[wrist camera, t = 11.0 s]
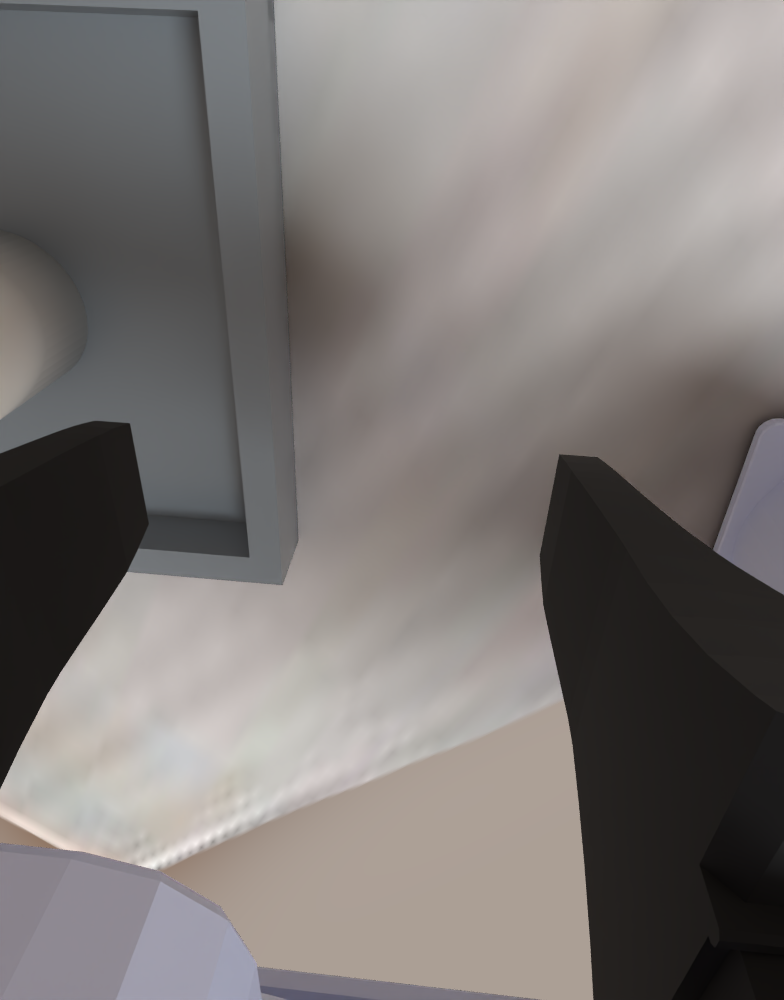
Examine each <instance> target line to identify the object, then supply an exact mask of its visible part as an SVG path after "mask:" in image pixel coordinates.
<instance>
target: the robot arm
mask: <svg viewBox="0 0 784 1000" xmlns="http://www.w3.org/2000/svg"><path fill="white" fill-rule="evenodd" d="M148 525H149V521H148V516H147V511H146V505H145V500H144V495H143V490H142V484H141V479H140V474H139V468H138V463H137V458H136V452H135V447H134V442H133V437H132V431H131V426H130V423H122V422H108V421H91V422H87V423H82V424H79V425H76V426H72V427H69V428H66V429H63V430H61V431H58V432H55V433H52V434H50V435H47V436H44V437H42V438H39V439H36V440H34V441H31V442H28V443H26V444H23V445H21V446H18V447H16V448H13V449H10V450H8V451H5V452H3V453H0V788H1V786H2V784H3V782H4V780H5V778H6V776H7V773H8V771H9V769H10V767H11V765H12V763H13V761H14V759H15V757H16V754H17V752H18V750H19V748H20V746H21V744H22V742H23V740H24V738H25V736H26V734H27V733H28V731H29V729H30V727H31V725H32V723H33V721H34V719H35V717H36V715H37V713H38V711H39V709H40V707H41V705H42V703H43V701H44V700H45V698H46V696H47V694H48V692H49V691H50V689H51V687H52V686H53V684H54V682H55V681H56V679H57V677H58V676H59V674H60V672H61V671H62V669H63V668H64V666H65V665H66V663H67V662H68V660H69V659H70V657H71V656H72V654H73V653H74V651H75V650H76V648H77V647H78V645H79V644H80V642H81V641H82V639H83V638H84V636H85V635H86V633H87V632H88V630H89V629H90V627H91V626H92V624H93V623H94V621H95V620H96V618H97V617H98V615H99V614H100V612H101V611H102V609H103V608H104V607H105V605H106V603H107V602H108V600H109V599H110V597H111V596H112V594H113V593H114V591H115V590H116V588H117V587H118V585H119V584H120V582H121V580H122V579H123V577H124V576H125V574H126V572H127V571H128V569H129V567H130V565H131V563H132V561H133V559H134V557H135V555H136V552H137V550H138V548H139V546H140V544H141V541H142V539H143V537H144V534H145V532H146V530H147V527H148ZM540 565H541V581H542V594H543V605H544V610H545V615H546V620H547V625H548V629H549V634H550V639H551V643H552V648H553V652H554V657H555V661H556V666H557V670H558V675H559V679H560V684H561V688H562V693H563V698H564V702H565V706H566V711H567V715H568V721H569V726H570V732H571V738H572V744H573V752H574V762H575V771H576V780H577V790H578V799H579V810H580V821H581V832H582V843H583V854H584V864H585V876H586V890H587V905H588V917H589V931H590V946H591V963H592V981H593V998H594V1000H784V419H782V418H776V419H770V420H768V421H766V422H764V423H763V424H762V425H760V426H759V427H758V429H757V431H756V432H755V435H754V438H753V441H752V443H751V446H750V449H749V452H748V455H747V457H746V460H745V463H744V466H743V468H742V471H741V474H740V477H739V479H738V482H737V485H736V488H735V490H734V493H733V496H732V499H731V501H730V504H729V507H728V510H727V512H726V515H725V518H724V521H723V523H722V526H721V529H720V532H719V535H718V537H717V540H716V543H715V546H714V548H713V550H712V549H711V548H709V547H708V546H707V545H705V544H704V543H702V542H701V541H700V540H698V539H697V538H696V537H694V536H693V535H692V534H690V533H689V532H687V531H686V530H685V529H684V528H682V527H681V526H680V525H678V524H677V523H676V522H675V521H673V520H672V519H671V518H670V517H668V516H667V515H666V514H665V513H664V512H662V511H661V510H660V509H659V508H657V507H656V506H655V505H654V504H653V503H652V502H650V501H649V500H648V499H647V498H646V497H644V496H643V495H642V494H641V493H640V492H639V491H638V490H636V489H635V488H634V487H633V486H632V485H631V484H629V483H628V482H627V481H626V480H625V479H624V478H623V477H621V476H620V475H619V474H618V473H617V472H616V471H614V470H613V469H612V468H611V467H610V466H608V465H607V464H606V463H605V462H603V461H602V460H601V459H599V458H598V457H587V456H573V455H560V454H559V459H558V464H557V469H556V475H555V480H554V485H553V490H552V495H551V500H550V506H549V511H548V516H547V521H546V526H545V532H544V537H543V542H542V547H541V552H540ZM0 1000H538V999H529V998H521V997H513V996H504V995H495V994H487V993H478V992H470V991H461V990H453V989H444V988H436V987H426V986H418V985H410V984H401V983H392V982H384V981H376V980H367V979H358V978H350V977H341V976H333V975H324V974H316V973H307V972H298V971H290V970H282V969H273V968H264V967H257V963H256V962H255V960H254V958H253V956H252V955H251V953H250V951H249V950H248V948H247V946H246V945H245V943H244V942H243V940H242V939H241V937H240V935H239V934H238V932H237V931H236V929H235V928H234V927H233V925H232V923H231V922H230V920H229V919H228V917H227V916H226V914H225V913H224V911H223V910H222V908H221V907H220V906H219V905H217V904H216V903H214V902H212V901H210V900H209V899H207V898H205V897H204V896H202V895H200V894H198V893H197V892H195V891H193V890H192V889H190V888H188V887H186V886H185V885H183V884H181V883H180V882H178V881H176V880H175V879H173V878H171V877H169V876H168V875H166V874H164V873H163V872H161V871H157V870H153V869H149V868H145V867H141V866H137V865H133V864H129V863H125V862H121V861H117V860H113V859H109V858H105V857H101V856H97V855H93V854H89V853H85V852H79V851H70V850H60V849H51V848H42V847H33V846H23V845H14V844H5V843H0Z"/></svg>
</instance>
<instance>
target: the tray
mask: <svg viewBox="0 0 784 1000" xmlns="http://www.w3.org/2000/svg"><path fill="white" fill-rule="evenodd" d="M0 230H1V231H5V232H9V233H13V234H16V235H18V236H21V237H23V238H25V239H27V240H29V241H31V242H33V243H34V244H36V245H37V246H39V247H40V248H42V249H43V250H45V251H46V252H47V253H48V254H49V255H51V256H52V257H53V258H54V259H55V260H56V261H57V262H58V263H59V264H60V265H61V266H62V268H63V269H64V270H65V271H66V272H67V274H68V275H69V277H70V278H71V280H72V281H73V283H74V284H75V286H76V288H77V290H78V292H79V294H80V296H81V299H82V301H83V304H84V308H85V311H86V316H87V324H88V334H87V341H86V345H85V349H84V352H83V354H82V356H81V358H80V359H79V361H78V362H77V363H76V365H75V366H74V367H73V368H72V369H71V370H70V371H68V372H67V373H65V374H64V375H63V376H61V377H60V378H58V379H57V380H56V381H54V382H53V383H51V384H50V385H49V386H47V387H46V388H44V389H43V390H41V391H40V392H39V393H37V394H36V395H34V396H33V397H32V398H30V399H29V400H27V401H26V402H25V403H23V404H22V405H20V406H19V407H18V408H16V409H15V410H13V411H12V412H11V413H9V414H8V415H6V416H5V417H4V418H2V419H1V420H0V453H3V452H5V451H8V450H10V449H13V448H16V447H18V446H21V445H23V444H26V443H28V442H31V441H34V440H36V439H39V438H42V437H44V436H47V435H50V434H52V433H55V432H58V431H61V430H63V429H66V428H69V427H72V426H76V425H79V424H82V423H87V422H91V421H108V422H122V423H130V426H131V431H132V437H133V442H134V447H135V452H136V458H137V463H138V468H139V474H140V479H141V484H142V490H143V495H144V500H145V505H146V511H147V516H148V521H149V525H148V527H147V530H146V532H145V534H144V537H143V539H142V541H141V544H140V546H139V548H138V550H137V552H136V555H135V557H134V559H133V561H132V563H131V565H130V567H129V569H128V571H127V572H135V573H147V574H159V575H171V576H182V577H194V578H206V579H217V580H229V581H241V582H253V583H264V584H276V585H283V582H284V579H285V577H286V574H287V571H288V568H289V565H290V562H291V560H292V557H293V554H294V551H295V548H296V546H297V543H298V522H297V500H296V478H295V457H294V435H293V413H292V391H291V370H290V348H289V326H288V304H287V282H286V261H285V239H284V217H283V195H282V174H281V152H280V130H279V108H278V87H277V65H276V43H275V21H274V0H0Z"/></svg>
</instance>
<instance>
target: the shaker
mask: <svg viewBox="0 0 784 1000" xmlns="http://www.w3.org/2000/svg"><path fill="white" fill-rule="evenodd" d="M87 334H88V324H87V316H86V311H85V308H84V304H83V301H82V299H81V296H80V294H79V292H78V290H77V288H76V286H75V284H74V283H73V281H72V280H71V278H70V277H69V275H68V274H67V272H66V271H65V270H64V269H63V268H62V266H61V265H60V264H59V263H58V262H57V261H56V260H55V259H54V258H53V257H52V256H51V255H49V254H48V253H47V252H46V251H45V250H43V249H42V248H40V247H39V246H37V245H36V244H34V243H33V242H31V241H29V240H27V239H25V238H23V237H21V236H18V235H16V234H13V233H9V232H5V231H1V230H0V420H1V419H2V418H4V417H5V416H6V415H8V414H9V413H11V412H12V411H13V410H15V409H16V408H18V407H19V406H20V405H22V404H23V403H25V402H26V401H27V400H29V399H30V398H32V397H33V396H34V395H36V394H37V393H39V392H40V391H41V390H43V389H44V388H46V387H47V386H49V385H50V384H51V383H53V382H54V381H56V380H57V379H58V378H60V377H61V376H63V375H64V374H65V373H67V372H68V371H70V370H71V369H72V368H73V367H74V366H75V365H76V363H77V362H78V361H79V359H80V358H81V356H82V354H83V352H84V349H85V345H86V341H87Z"/></svg>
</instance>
